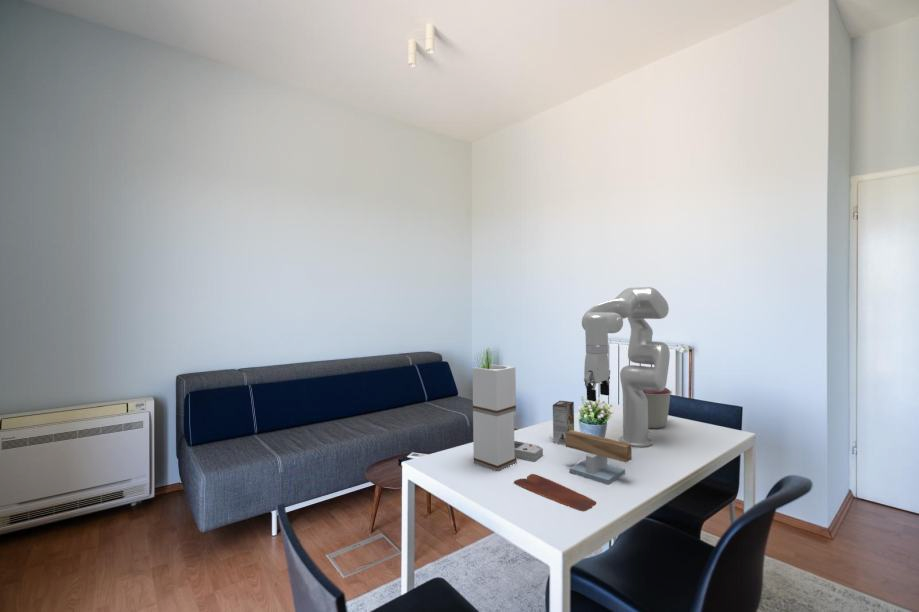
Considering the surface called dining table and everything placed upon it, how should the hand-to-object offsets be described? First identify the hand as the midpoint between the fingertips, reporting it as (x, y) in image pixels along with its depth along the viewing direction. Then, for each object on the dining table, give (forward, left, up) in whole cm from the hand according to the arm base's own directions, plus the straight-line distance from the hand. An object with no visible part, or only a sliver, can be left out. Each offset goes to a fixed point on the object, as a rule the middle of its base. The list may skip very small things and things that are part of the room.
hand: (598, 397), depth 151 cm
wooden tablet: (+28, 0, -25) cm, 38 cm away
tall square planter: (+23, -29, -25) cm, 44 cm away
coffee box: (-15, -24, -25) cm, 37 cm away
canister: (-62, -7, -25) cm, 67 cm away
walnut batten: (+6, +2, -17) cm, 19 cm away
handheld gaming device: (+9, -27, -25) cm, 38 cm away
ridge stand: (+6, +2, -24) cm, 25 cm away
